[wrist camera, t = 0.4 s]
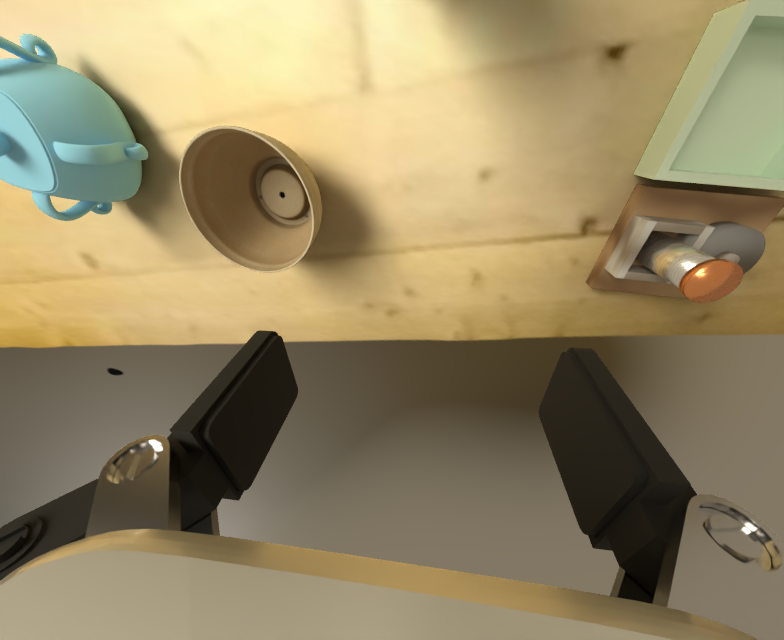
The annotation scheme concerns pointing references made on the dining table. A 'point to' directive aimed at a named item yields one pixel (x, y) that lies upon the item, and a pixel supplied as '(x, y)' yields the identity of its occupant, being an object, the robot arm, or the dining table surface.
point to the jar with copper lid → (689, 268)
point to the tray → (727, 105)
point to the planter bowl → (250, 197)
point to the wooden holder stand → (682, 233)
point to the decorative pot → (63, 134)
